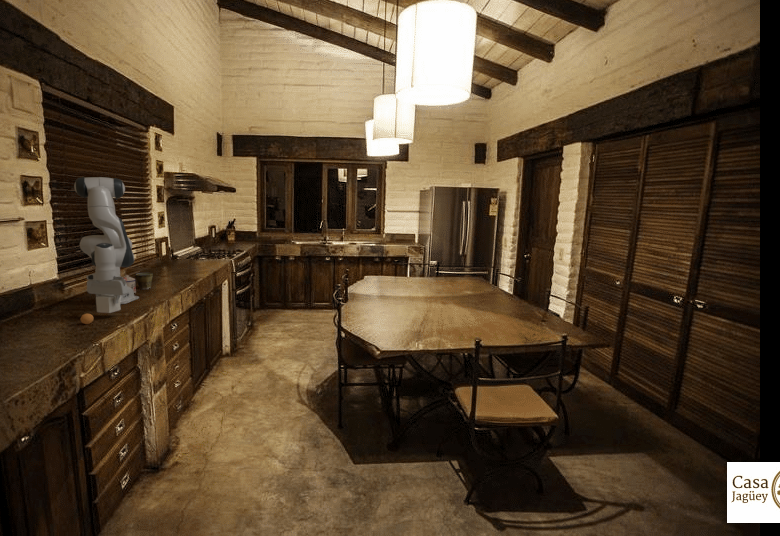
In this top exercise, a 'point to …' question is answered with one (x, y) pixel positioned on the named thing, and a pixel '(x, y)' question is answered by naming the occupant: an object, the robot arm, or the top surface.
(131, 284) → the teacup with lid
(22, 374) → the top surface
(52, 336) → the top surface
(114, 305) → the grey matte cube
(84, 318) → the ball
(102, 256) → the robot arm
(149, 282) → the ceramic cup
